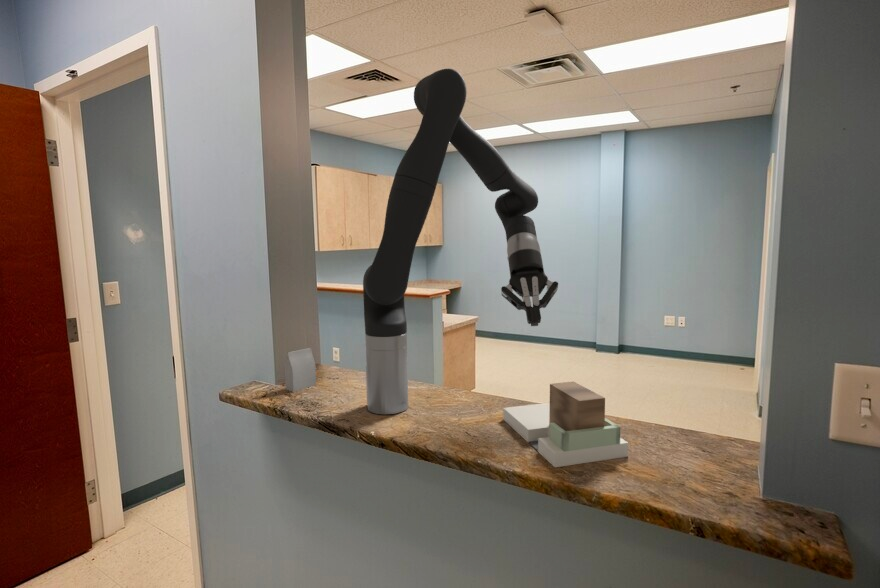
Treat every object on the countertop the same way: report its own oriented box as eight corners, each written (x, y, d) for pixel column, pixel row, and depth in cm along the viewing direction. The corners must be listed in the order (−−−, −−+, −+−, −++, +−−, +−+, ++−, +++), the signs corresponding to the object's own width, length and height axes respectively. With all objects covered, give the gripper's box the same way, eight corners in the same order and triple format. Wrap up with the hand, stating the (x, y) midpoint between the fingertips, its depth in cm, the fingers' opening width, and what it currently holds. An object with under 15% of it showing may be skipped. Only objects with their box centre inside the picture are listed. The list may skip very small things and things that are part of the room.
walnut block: (549, 424, 88) (549, 383, 88) (572, 421, 90) (573, 381, 89) (578, 446, 79) (579, 400, 78) (604, 443, 80) (605, 398, 79)
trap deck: (503, 419, 98) (503, 394, 97) (563, 412, 102) (563, 387, 101) (554, 467, 77) (555, 435, 76) (628, 456, 80) (629, 425, 80)
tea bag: (316, 386, 123) (314, 348, 122) (293, 392, 118) (291, 353, 117) (308, 383, 125) (306, 347, 124) (285, 389, 120) (283, 351, 119)
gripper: (495, 250, 104) (503, 319, 95) (555, 244, 103) (568, 313, 94) (496, 269, 111) (503, 334, 102) (552, 263, 110) (565, 329, 101)
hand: (535, 324), depth 98 cm, fingers closed
